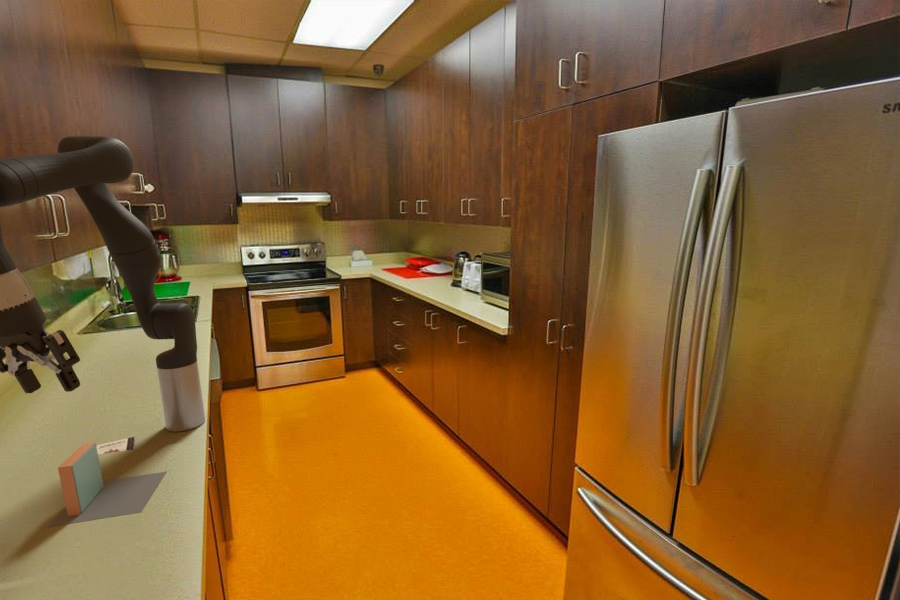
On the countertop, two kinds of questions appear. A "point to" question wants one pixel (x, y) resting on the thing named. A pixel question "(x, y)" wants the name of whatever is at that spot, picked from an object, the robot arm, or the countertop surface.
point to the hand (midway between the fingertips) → (53, 389)
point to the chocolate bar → (116, 446)
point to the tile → (81, 478)
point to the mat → (116, 499)
